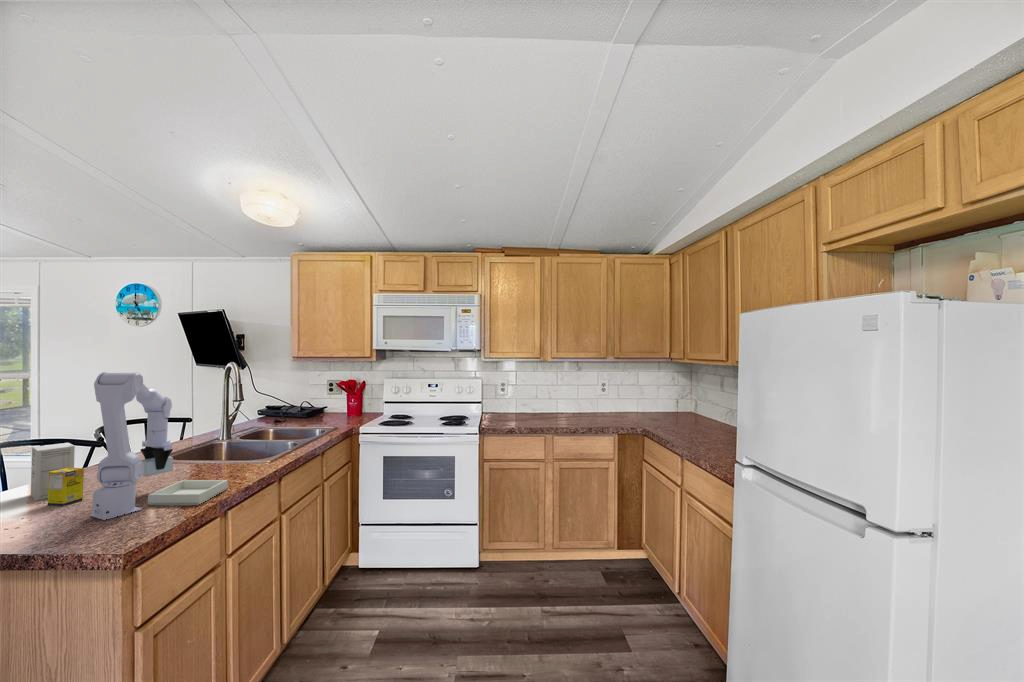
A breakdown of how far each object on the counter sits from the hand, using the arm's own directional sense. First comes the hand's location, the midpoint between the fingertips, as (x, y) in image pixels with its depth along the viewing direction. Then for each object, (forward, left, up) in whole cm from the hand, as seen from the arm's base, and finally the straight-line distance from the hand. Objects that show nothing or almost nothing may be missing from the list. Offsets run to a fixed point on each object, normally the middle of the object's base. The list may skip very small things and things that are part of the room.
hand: (155, 468), depth 154 cm
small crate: (0, 0, -2) cm, 2 cm away
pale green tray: (+2, -17, -8) cm, 19 cm away
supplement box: (-19, +13, -9) cm, 25 cm away
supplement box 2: (-17, +28, -9) cm, 34 cm away
